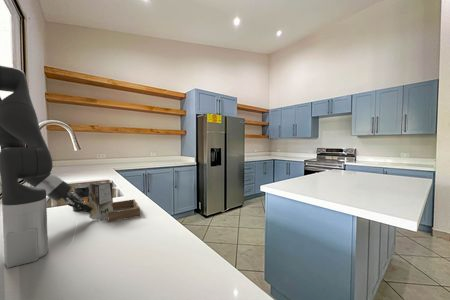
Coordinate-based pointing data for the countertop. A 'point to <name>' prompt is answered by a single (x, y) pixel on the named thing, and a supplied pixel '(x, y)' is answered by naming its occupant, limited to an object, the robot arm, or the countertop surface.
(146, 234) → the countertop surface
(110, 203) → the coffee box
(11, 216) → the robot arm
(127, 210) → the walnut pen
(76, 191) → the supplement container
